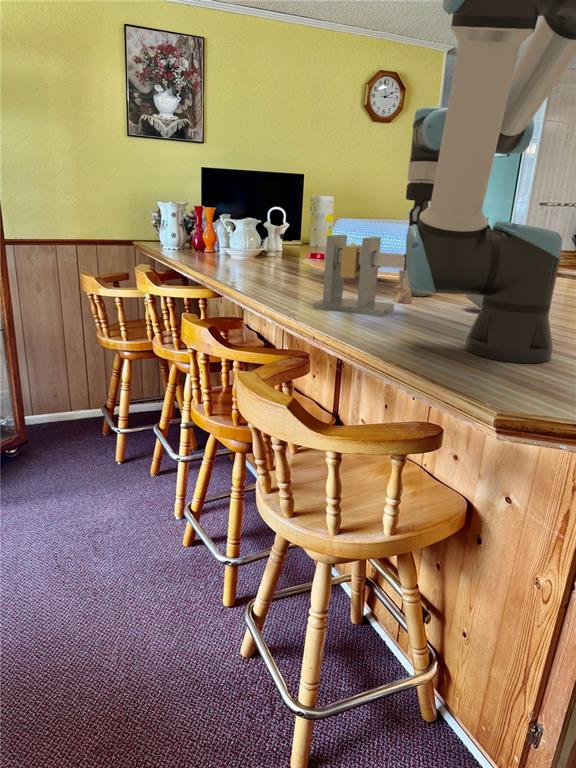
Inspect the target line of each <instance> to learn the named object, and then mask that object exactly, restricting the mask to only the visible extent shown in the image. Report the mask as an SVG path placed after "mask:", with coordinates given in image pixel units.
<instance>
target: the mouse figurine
mask: <svg viewBox="0 0 576 768" xmlns="http://www.w3.org/2000/svg"><path fill="white" fill-rule="evenodd" d="M404 283H405V279H403V284H400V285H399V284H398V285H396V286H395V287H394V289H395V290H396V291H397V293H396V295H395V298H394V300H393V302H394V304H395V303H398V304H411V303H418V304H419V303H421V302H419V301H417V300H413V296H412V295H411V290H410V288H409V287H408V286H406V285H404Z"/></svg>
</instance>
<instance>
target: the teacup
mask: <svg viewBox="0 0 576 768" xmlns="http://www.w3.org/2000/svg"><path fill="white" fill-rule="evenodd" d="M398 271H399V274H398V275H399V277H398V283H399V284H398V286H399V285H400V284H403V279H405V274H406V271H404V268H399V270H398ZM408 287H409V288H410V290H411V295H412V297H425V296H426V297H427V296H428V294H430V293H431V292H421V291H416V290H414V289H412V287H411V286H408Z"/></svg>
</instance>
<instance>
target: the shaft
mask: <svg viewBox="0 0 576 768" xmlns="http://www.w3.org/2000/svg"><path fill="white" fill-rule="evenodd" d="M361 253H362V251H360V252H357V262H356V264H361ZM325 260H326V248H325V249H324V260H323V261H324V262H325ZM337 262H338V263H341V262H342V250H340V249H338V255H337ZM372 265H373V266H378V267H386V268H398V269H404V271H406V257H404V253H403V254H401V253H389V252H380V253H379V252H373V257H372Z"/></svg>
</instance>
